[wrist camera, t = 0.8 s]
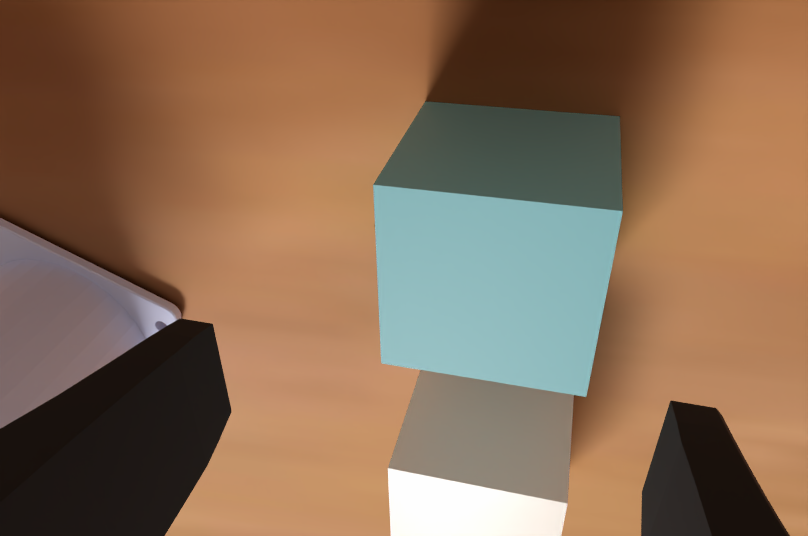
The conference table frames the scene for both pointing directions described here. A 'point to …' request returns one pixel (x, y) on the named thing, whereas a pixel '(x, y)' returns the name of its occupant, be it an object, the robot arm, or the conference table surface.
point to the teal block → (498, 243)
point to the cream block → (480, 460)
